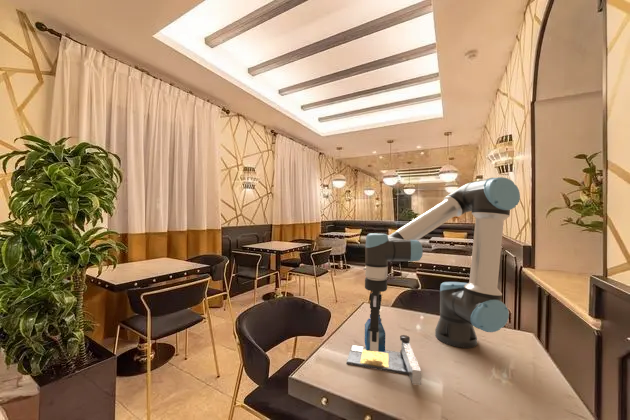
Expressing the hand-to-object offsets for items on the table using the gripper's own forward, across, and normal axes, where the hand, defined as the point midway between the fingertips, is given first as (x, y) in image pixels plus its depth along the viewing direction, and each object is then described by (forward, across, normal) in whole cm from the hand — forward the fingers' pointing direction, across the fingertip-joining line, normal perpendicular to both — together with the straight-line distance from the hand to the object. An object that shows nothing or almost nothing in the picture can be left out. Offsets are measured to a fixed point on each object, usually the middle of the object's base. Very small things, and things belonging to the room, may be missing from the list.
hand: (374, 344), depth 90 cm
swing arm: (+3, +3, +11) cm, 12 cm away
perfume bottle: (+1, 0, 0) cm, 1 cm away
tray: (+5, -1, +2) cm, 6 cm away
